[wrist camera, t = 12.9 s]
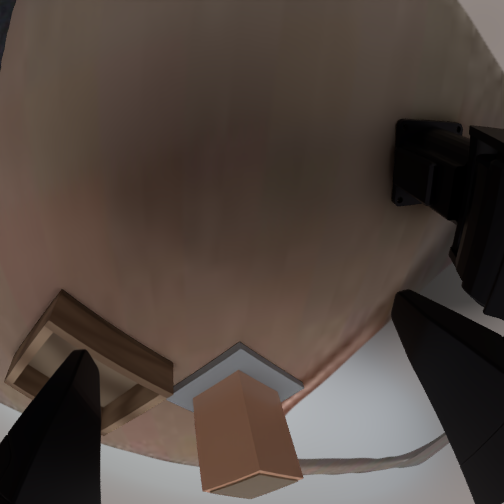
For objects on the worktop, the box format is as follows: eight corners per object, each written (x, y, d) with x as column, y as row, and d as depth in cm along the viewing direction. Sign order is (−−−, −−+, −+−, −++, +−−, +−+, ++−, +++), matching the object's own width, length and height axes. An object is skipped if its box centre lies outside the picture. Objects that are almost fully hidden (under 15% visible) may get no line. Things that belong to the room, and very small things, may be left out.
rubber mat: (239, 341, 27) (240, 348, 26) (302, 382, 32) (304, 388, 31) (164, 392, 29) (164, 398, 28) (232, 422, 34) (233, 428, 33)
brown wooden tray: (61, 289, 21) (48, 320, 18) (172, 363, 27) (173, 394, 24) (14, 355, 24) (4, 382, 21) (106, 409, 29) (103, 435, 26)
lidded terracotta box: (238, 369, 27) (260, 472, 19) (277, 391, 30) (304, 480, 22) (192, 398, 29) (202, 493, 20) (233, 416, 32) (250, 500, 23)
